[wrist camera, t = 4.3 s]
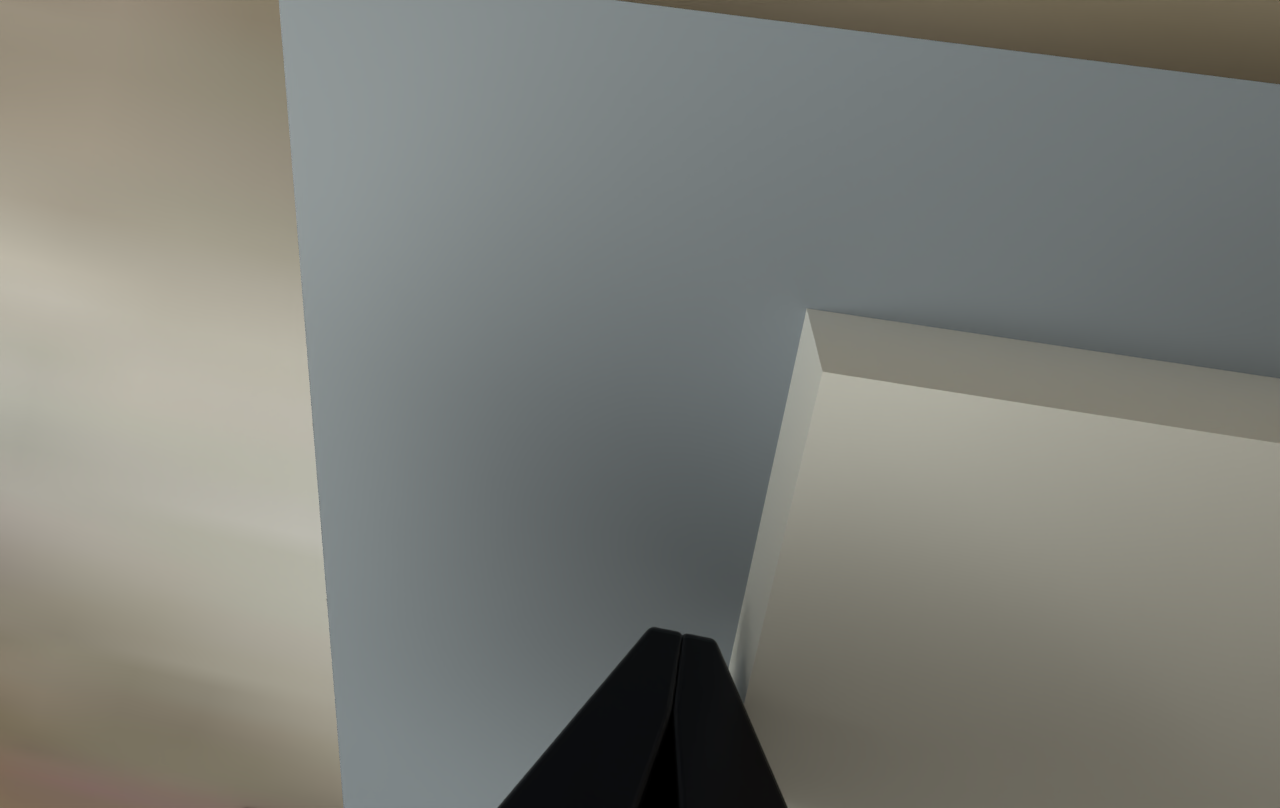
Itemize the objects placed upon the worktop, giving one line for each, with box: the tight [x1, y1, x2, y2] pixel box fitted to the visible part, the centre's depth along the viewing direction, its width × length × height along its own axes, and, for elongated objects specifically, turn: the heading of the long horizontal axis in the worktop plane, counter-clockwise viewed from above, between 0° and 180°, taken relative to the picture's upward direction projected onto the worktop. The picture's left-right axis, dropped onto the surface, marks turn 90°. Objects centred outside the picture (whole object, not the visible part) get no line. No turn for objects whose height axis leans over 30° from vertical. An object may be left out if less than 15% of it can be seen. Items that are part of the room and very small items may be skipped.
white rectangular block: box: [729, 309, 1280, 808], centre depth 8 cm, size 9×6×2 cm, turn 173°
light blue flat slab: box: [279, 0, 1280, 808], centre depth 11 cm, size 14×14×4 cm
